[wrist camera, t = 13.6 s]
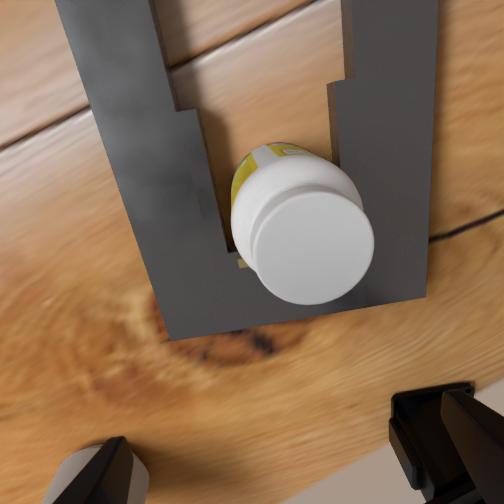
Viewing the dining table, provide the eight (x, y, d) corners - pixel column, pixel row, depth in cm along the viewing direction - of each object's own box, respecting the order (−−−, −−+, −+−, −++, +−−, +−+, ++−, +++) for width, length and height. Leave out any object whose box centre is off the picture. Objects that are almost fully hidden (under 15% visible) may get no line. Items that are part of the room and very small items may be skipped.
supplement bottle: (252, 244, 21) (266, 344, 12) (216, 164, 19) (197, 209, 10) (332, 211, 20) (413, 289, 11) (304, 125, 18) (372, 134, 9)
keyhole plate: (427, -228, 13) (453, -275, 11) (414, 285, 22) (427, 298, 21) (21, -140, 13) (-7, -173, 12) (174, 327, 23) (170, 343, 21)
